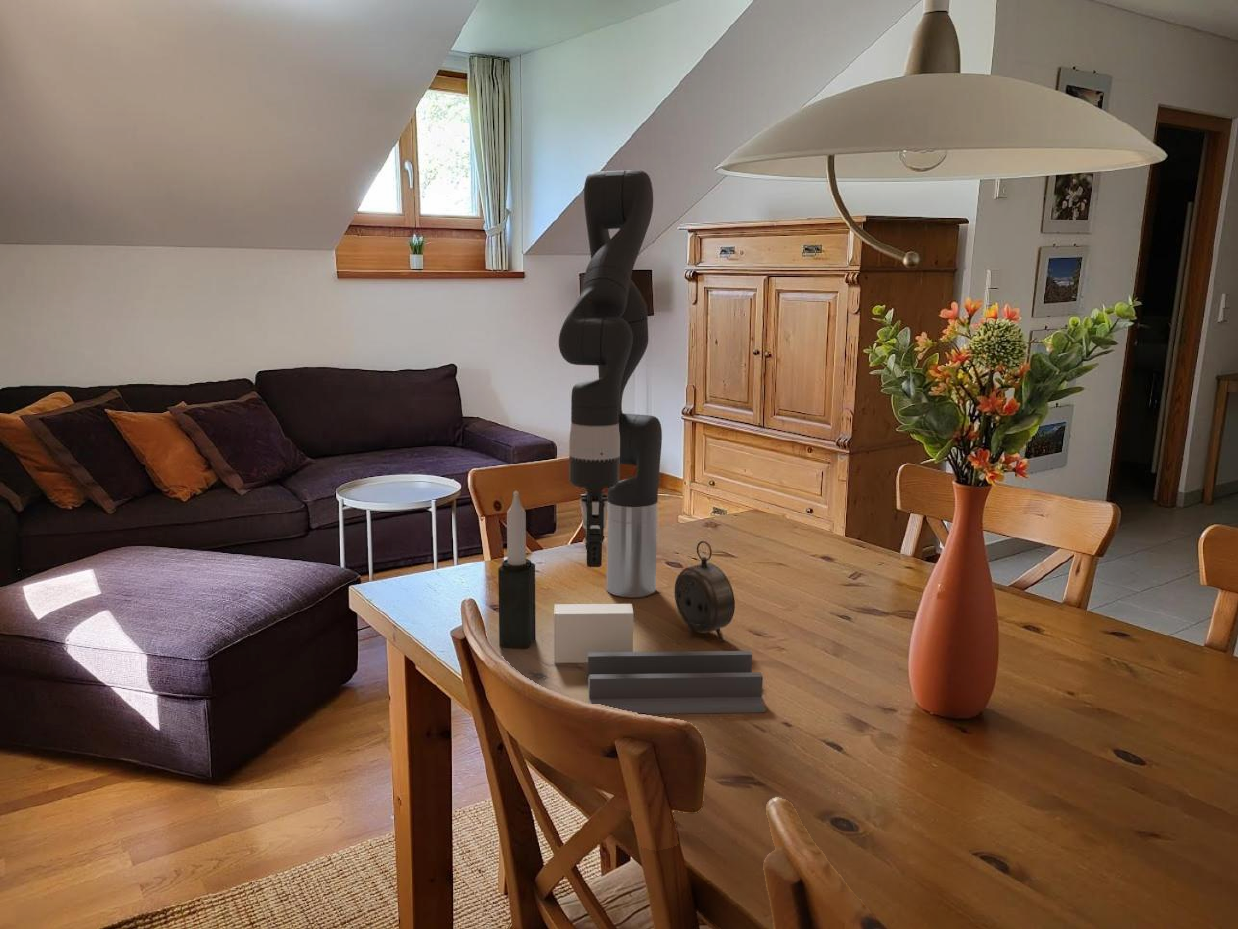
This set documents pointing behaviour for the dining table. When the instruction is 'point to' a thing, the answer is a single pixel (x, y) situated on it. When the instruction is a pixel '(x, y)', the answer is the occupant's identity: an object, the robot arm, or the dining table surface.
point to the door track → (675, 682)
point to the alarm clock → (704, 597)
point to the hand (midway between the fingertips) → (593, 557)
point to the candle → (516, 584)
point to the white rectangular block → (591, 630)
